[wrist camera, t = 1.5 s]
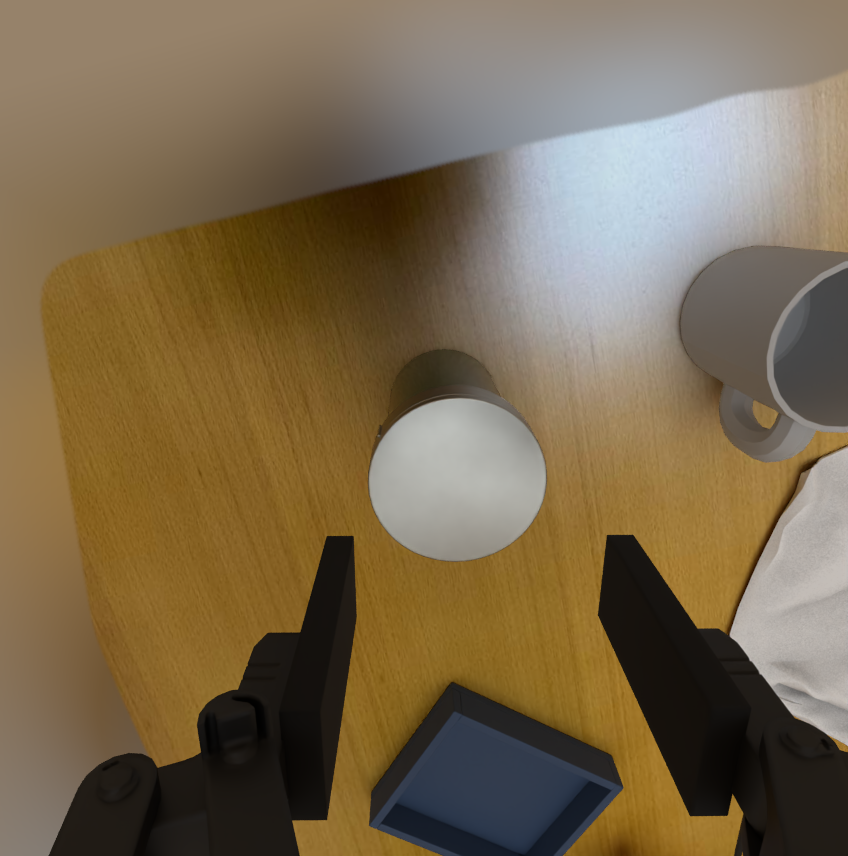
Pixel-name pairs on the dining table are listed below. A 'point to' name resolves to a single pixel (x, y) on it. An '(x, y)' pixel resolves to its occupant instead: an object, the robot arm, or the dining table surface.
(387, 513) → the lid
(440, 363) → the jar
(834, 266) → the cup
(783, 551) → the cloth
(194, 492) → the dining table surface
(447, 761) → the tray
